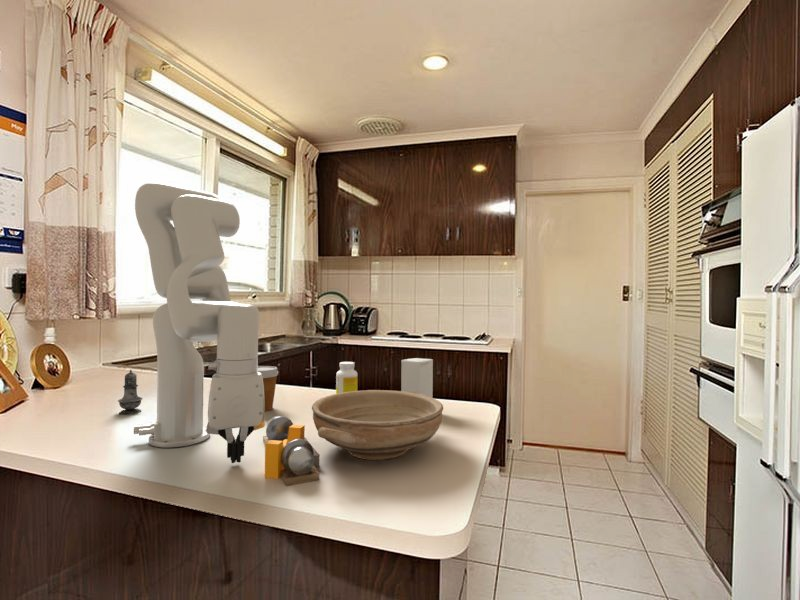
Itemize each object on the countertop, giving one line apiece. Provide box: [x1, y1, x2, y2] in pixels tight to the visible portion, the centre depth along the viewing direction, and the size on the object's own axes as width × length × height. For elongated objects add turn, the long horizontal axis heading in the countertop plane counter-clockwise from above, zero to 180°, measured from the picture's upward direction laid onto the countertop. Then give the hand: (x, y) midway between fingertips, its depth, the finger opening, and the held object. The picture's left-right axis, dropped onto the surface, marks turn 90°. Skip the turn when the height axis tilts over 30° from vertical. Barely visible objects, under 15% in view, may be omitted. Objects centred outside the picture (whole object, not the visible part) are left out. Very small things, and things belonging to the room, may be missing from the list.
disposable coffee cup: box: [257, 365, 280, 412], centre depth 126 cm, size 10×10×12 cm
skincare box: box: [400, 357, 434, 398], centre depth 124 cm, size 8×7×16 cm
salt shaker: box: [117, 369, 143, 416], centre depth 121 cm, size 6×6×12 cm
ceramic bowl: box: [311, 389, 444, 461], centre depth 94 cm, size 37×29×10 cm
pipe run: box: [262, 415, 320, 486], centre depth 88 cm, size 8×26×6 cm, turn 26°
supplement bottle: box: [335, 361, 359, 394], centre depth 134 cm, size 7×7×13 cm
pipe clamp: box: [264, 424, 306, 480], centre depth 84 cm, size 12×4×6 cm, turn 170°
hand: (235, 460), depth 84 cm, fingers closed
